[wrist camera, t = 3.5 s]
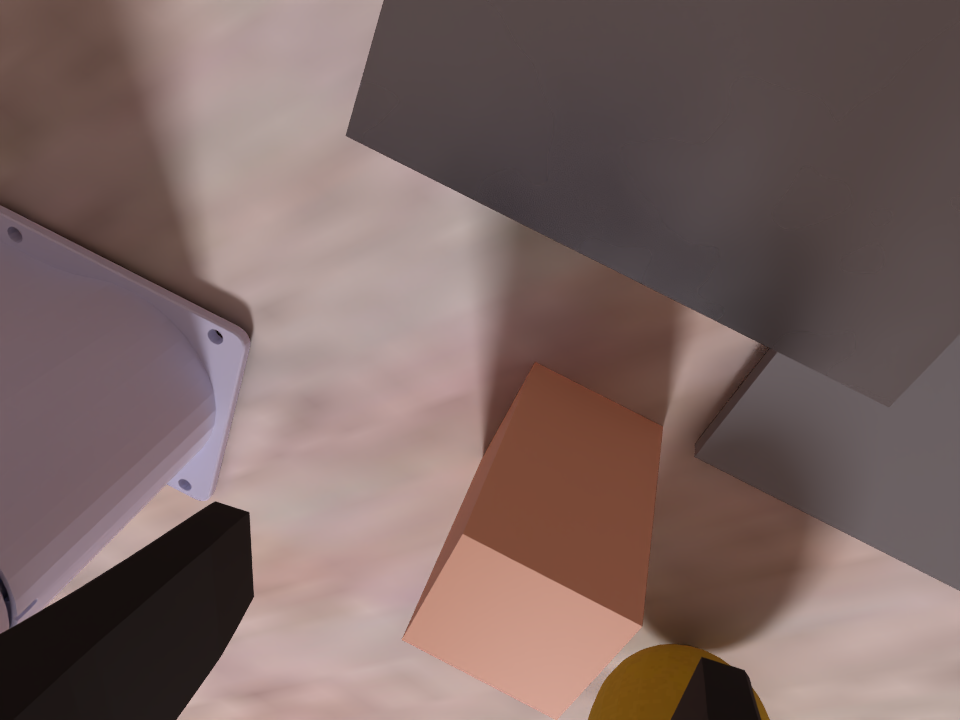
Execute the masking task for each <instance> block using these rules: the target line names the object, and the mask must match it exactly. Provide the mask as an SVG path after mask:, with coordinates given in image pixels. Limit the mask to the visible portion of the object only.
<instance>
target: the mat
mask: <svg viewBox="0 0 960 720" xmlns="http://www.w3.org/2000/svg"><path fill="white" fill-rule="evenodd" d="M695 457H696V458H698V459H700V460H702V461H704V462H706V463H708V464H710V465H712V466H714V467H716V468H718V469H720V470H722V471H724V472H726V473H728V474H730V475H732V476H733V477H735V478H737V479H739V480H741V481H743V482H745V483H747V484H749V485H751V486H753V487H755V488H757V489H759V490H761V491H763V492H765V493H767V494H769V495H771V496H773V497H775V498H777V499H779V500H781V501H783V502H785V503H787V504H789V505H791V506H793V507H795V508H797V509H799V510H801V511H803V512H805V513H807V514H809V515H811V516H813V517H815V518H817V519H819V520H821V521H823V522H825V523H826V524H828V525H830V526H832V527H834V528H836V529H838V530H840V531H842V532H844V533H846V534H848V535H850V536H852V537H854V538H856V539H858V540H860V541H862V542H864V543H866V544H868V545H870V546H872V547H874V548H876V549H878V550H880V551H882V552H884V553H886V554H888V555H890V556H892V557H894V558H896V559H898V560H900V561H902V562H904V563H906V564H908V565H910V566H912V567H914V568H916V569H918V570H919V571H921V572H923V573H925V574H927V575H929V576H931V577H933V578H935V579H937V580H939V581H941V582H943V583H945V584H947V585H949V586H951V587H953V588H955V589H957V590H959V591H960V334H959V335H958V336H957V337H956V338H955V340H954V341H953V342H952V343H951V344H950V345H949V346H948V347H947V348H946V349H945V350H944V351H943V352H942V353H941V354H940V355H939V356H938V357H937V358H936V359H935V360H934V361H933V362H932V363H931V364H930V366H929V367H928V368H927V369H926V370H925V371H924V372H923V373H922V374H921V375H920V376H919V377H918V378H917V379H916V380H915V381H914V382H913V383H912V384H911V385H910V386H909V387H908V388H907V389H906V390H905V392H904V393H903V394H902V395H901V396H900V397H899V398H898V399H897V400H896V401H895V402H894V403H893V404H892V405H891V406H890V407H887V406H885V405H883V404H881V403H879V402H877V401H875V400H873V399H871V398H869V397H867V396H865V395H863V394H861V393H859V392H857V391H855V390H853V389H851V388H849V387H847V386H845V385H843V384H841V383H839V382H837V381H835V380H833V379H831V378H829V377H827V376H825V375H823V374H821V373H819V372H817V371H815V370H813V369H811V368H809V367H807V366H805V365H803V364H801V363H799V362H797V361H795V360H793V359H791V358H789V357H787V356H785V355H783V354H781V353H779V352H777V351H775V350H773V349H771V348H769V350H768V351H767V352H766V354H765V355H764V356H763V357H762V359H761V360H760V361H759V363H758V364H757V365H756V366H755V368H754V369H753V370H752V372H751V373H750V374H749V375H748V377H747V378H746V379H745V380H744V382H743V383H742V384H741V386H740V387H739V388H738V389H737V391H736V392H735V393H734V395H733V396H732V397H731V398H730V400H729V401H728V402H727V404H726V405H725V406H724V407H723V409H722V410H721V411H720V413H719V414H718V415H717V416H716V418H715V419H714V420H713V422H712V423H711V424H710V425H709V427H708V428H707V429H706V430H705V432H704V433H703V434H702V436H701V437H700V438H699V439H698V441H697V442H696V443H695Z"/></svg>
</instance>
